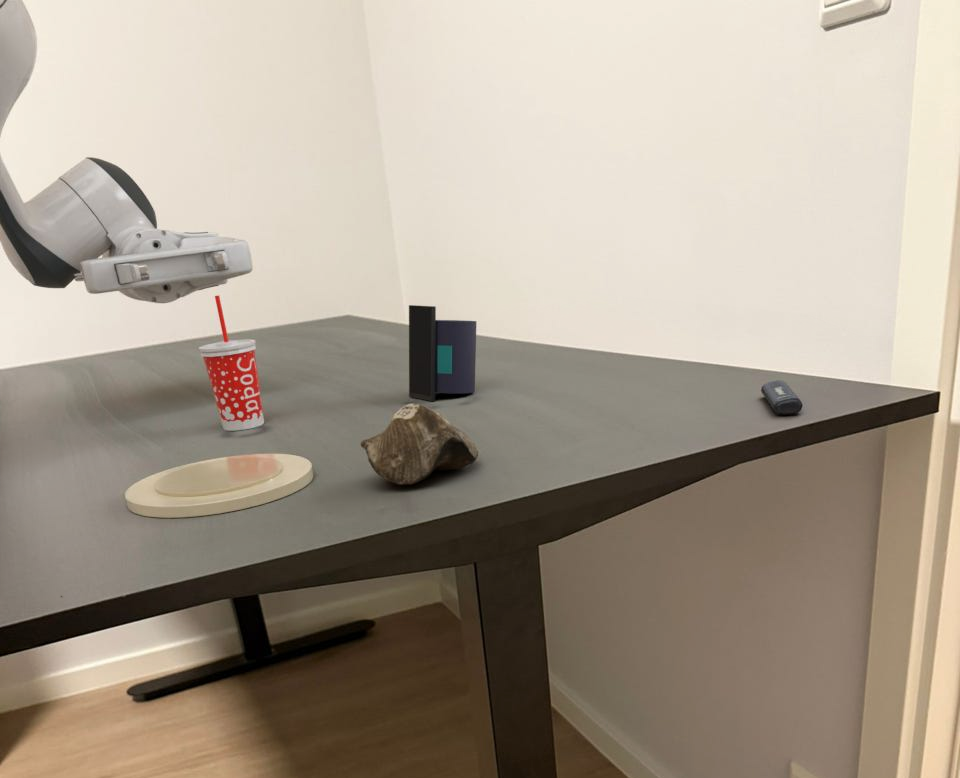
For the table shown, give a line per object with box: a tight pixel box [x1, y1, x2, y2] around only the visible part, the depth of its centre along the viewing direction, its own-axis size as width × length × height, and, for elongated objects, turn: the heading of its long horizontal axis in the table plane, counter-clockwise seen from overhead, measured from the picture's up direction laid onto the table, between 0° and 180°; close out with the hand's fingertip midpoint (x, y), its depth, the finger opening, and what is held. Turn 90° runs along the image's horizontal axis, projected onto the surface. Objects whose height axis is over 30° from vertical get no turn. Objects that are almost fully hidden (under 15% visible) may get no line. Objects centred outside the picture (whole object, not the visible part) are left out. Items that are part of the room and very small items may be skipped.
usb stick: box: [760, 379, 803, 416], centre depth 90 cm, size 10×3×2 cm, turn 172°
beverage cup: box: [198, 295, 265, 432], centre depth 105 cm, size 6×6×14 cm
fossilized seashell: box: [360, 403, 479, 486], centre depth 79 cm, size 8×7×10 cm
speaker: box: [408, 304, 477, 402], centre depth 110 cm, size 8×6×10 cm
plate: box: [124, 453, 314, 519], centre depth 83 cm, size 16×16×1 cm
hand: (182, 267), depth 111 cm, fingers open, 8 cm apart
